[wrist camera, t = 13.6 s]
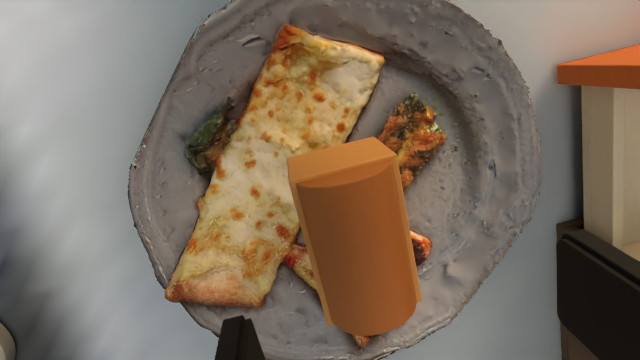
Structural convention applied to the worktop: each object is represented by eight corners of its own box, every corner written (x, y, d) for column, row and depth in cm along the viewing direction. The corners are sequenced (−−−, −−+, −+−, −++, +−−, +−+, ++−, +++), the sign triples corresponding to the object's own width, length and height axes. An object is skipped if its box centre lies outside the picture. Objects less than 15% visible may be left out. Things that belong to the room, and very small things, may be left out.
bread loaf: (286, 157, 21) (289, 193, 15) (374, 135, 21) (409, 162, 16) (319, 280, 24) (331, 351, 18) (397, 260, 24) (435, 323, 18)
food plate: (378, 388, 31) (390, 429, 27) (88, 267, 25) (58, 298, 22) (582, 115, 26) (628, 123, 22) (273, -109, 20) (272, -144, 17)
